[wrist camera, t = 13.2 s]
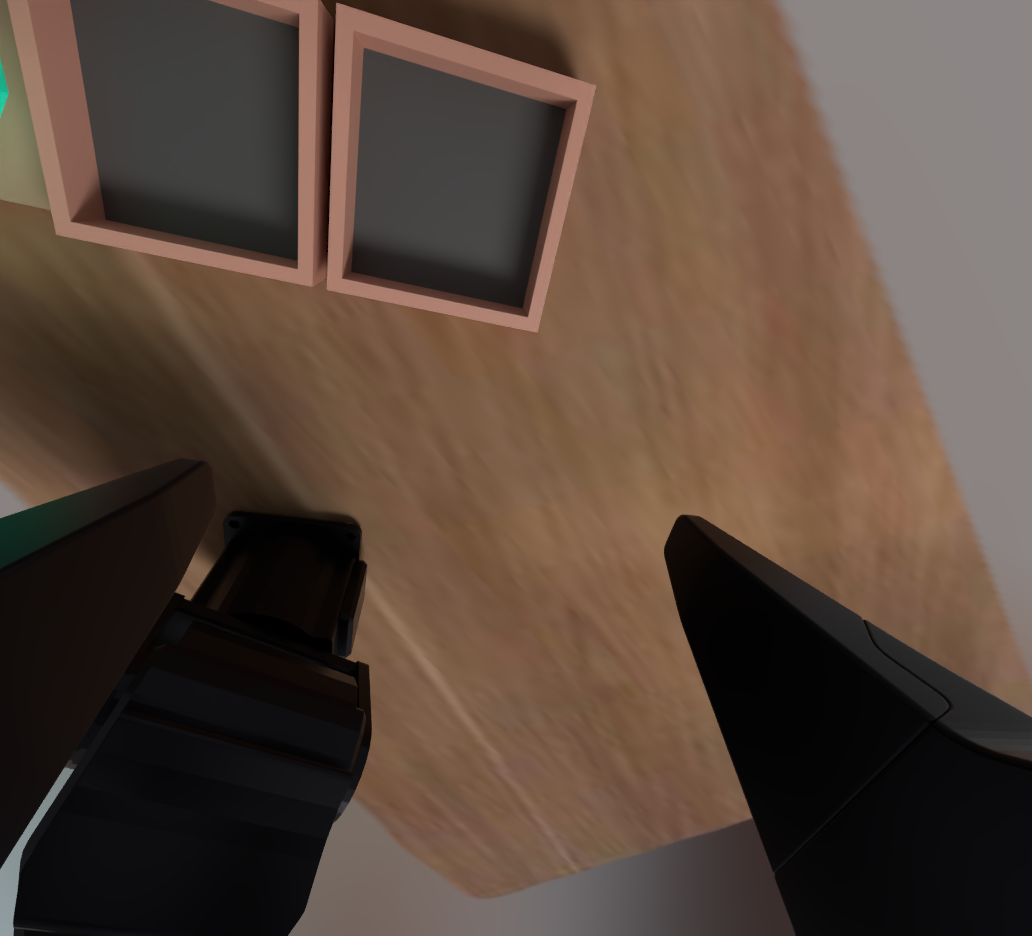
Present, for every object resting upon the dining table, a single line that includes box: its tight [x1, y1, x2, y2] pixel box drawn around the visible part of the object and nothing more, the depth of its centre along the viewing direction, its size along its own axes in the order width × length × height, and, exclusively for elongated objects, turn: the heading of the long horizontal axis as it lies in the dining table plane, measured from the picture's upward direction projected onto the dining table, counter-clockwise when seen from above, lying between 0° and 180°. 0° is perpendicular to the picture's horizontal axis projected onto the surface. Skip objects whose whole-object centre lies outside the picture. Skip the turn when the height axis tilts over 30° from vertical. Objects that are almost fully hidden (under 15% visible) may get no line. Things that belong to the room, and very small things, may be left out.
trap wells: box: [7, 0, 596, 332], centre depth 16 cm, size 16×8×2 cm, turn 77°
